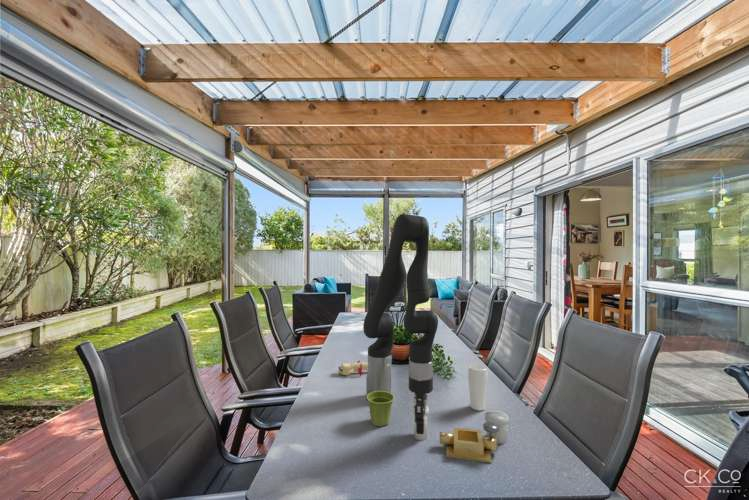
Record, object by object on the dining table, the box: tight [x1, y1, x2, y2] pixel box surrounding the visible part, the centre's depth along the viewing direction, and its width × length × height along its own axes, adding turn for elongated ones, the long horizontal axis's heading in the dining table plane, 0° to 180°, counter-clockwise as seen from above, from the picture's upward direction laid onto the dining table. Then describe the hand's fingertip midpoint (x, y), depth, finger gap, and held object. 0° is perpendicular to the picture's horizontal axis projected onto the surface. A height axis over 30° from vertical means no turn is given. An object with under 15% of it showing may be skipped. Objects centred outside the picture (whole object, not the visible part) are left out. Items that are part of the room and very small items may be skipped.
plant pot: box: [366, 391, 395, 427], centre depth 115 cm, size 9×9×9 cm
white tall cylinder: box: [467, 363, 488, 411], centre depth 125 cm, size 7×7×15 cm
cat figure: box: [336, 359, 368, 377], centre depth 161 cm, size 10×9×25 cm
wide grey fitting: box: [483, 410, 509, 445], centre depth 105 cm, size 7×7×7 cm
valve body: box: [439, 422, 499, 464], centre depth 99 cm, size 17×10×8 cm, turn 78°
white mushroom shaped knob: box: [412, 405, 430, 441], centre depth 106 cm, size 5×5×9 cm
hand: (420, 429), depth 106 cm, fingers closed on white mushroom shaped knob, 4 cm apart
